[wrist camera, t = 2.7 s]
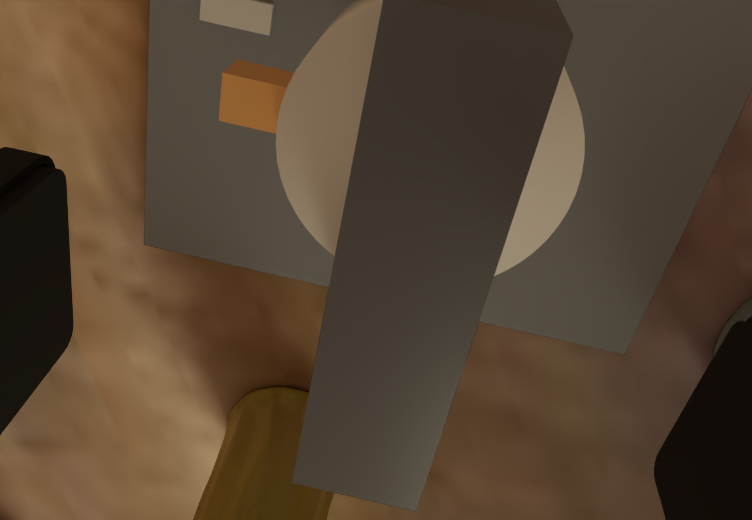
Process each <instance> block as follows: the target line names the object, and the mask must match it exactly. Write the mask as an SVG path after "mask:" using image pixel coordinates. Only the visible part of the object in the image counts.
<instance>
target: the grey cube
mask: <svg viewBox="0 0 752 520" xmlns="http://www.w3.org/2000/svg"><path fill="white" fill-rule="evenodd" d="M573 37H574V35H573V33H572V31H571V29H570V27H569V25H568V23H567V21H566V19H565V17H564V15H563V13H562V11H561V9H560V7H559V5H558V3H557V1H556V0H356V1H354V2H353V3H352V4H351V5H350V6H348V7H347V8H346V9H345V10H343V11H342V13H341V14H340V15H339V16H338V17H337V18H336V19H335V20H334V21H333V22H332V23H331V24H330V26H329V27H328V28H327V30H326V31H325V32H324V33H323V35H322V36H321V37H320V38H319V40H318V41H317V42H316V44H315V45H314V46H313V47H312V49H311V50H310V51H309V52H308V54H307V55H306V57H305V58H304V59H303V61H302V62H301V64H300V65H299V66H298V68H297V69H296V71H295V72H290V71H286V70H282V69H277V68H273V67H268V66H264V65H260V64H255V63H251V62H246V61H242V60H238V59H237V60H236V61H235V62H234V63H232V64H231V65H230V66H229V67H228V68H227V69H226V70H225V71H224V72H223V73H222V84H221V97H220V109H219V121H222V122H227V123H231V124H236V125H240V126H244V127H249V128H253V129H257V130H262V131H266V132H271V133H275V134H276V154H277V164H278V168H279V173H280V177H281V181H282V184H283V187H284V189H285V192H286V195H287V198H288V199H289V201H290V203H291V205H292V207H293V209H294V211H295V213H296V215H297V216H298V218H299V219H300V220H301V222H302V223H303V225H304V226H305V228H306V229H307V230H308V231H309V232H310V234H311V235H312V236H313V237H314V238H315V239H316V240H317V242H319V243H320V244H321V245H322V246H323V247H324V248H325V249H326V250H327V251H329V252H330V253H331V254H332V255H334V256H335V257H334V262H333V268H332V273H331V278H330V284H329V289H328V294H327V300H326V305H325V310H324V315H323V321H322V326H321V331H320V337H319V342H318V347H317V352H316V358H315V363H314V368H313V374H312V379H311V384H310V390H309V395H308V400H307V405H306V411H305V416H304V421H303V427H302V432H301V437H300V443H299V448H298V453H297V458H296V464H295V469H294V474H293V480H292V483H295V484H299V485H303V486H308V487H312V488H316V489H321V490H325V491H329V492H334V493H338V494H342V495H347V496H351V497H355V498H360V499H364V500H368V501H373V502H377V503H382V504H386V505H390V506H395V507H399V508H403V509H408V510H412V511H416V510H417V507H418V504H419V501H420V497H421V494H422V491H423V488H424V485H425V482H426V479H427V476H428V473H429V470H430V467H431V464H432V461H433V458H434V455H435V452H436V449H437V446H438V443H439V440H440V437H441V434H442V431H443V428H444V425H445V422H446V419H447V416H448V413H449V410H450V407H451V404H452V401H453V398H454V395H455V392H456V389H457V386H458V383H459V380H460V377H461V374H462V371H463V368H464V365H465V362H466V359H467V356H468V353H469V350H470V347H471V344H472V341H473V338H474V335H475V332H476V329H477V326H478V323H479V320H480V317H481V314H482V311H483V308H484V305H485V302H486V299H487V296H488V293H489V290H490V287H491V284H492V281H493V278H494V276H495V275H498V274H500V273H502V272H504V271H506V270H508V269H510V268H511V267H513V266H515V265H517V264H519V263H520V262H521V261H523V260H524V259H525V258H527V257H528V256H530V255H531V254H532V253H534V252H535V251H536V250H537V249H538V248H539V247H540V246H541V245H542V244H543V243H544V242H545V241H546V240H547V239H548V238H549V237H550V236H551V234H552V233H553V232H554V231H555V230H556V228H557V227H558V226H559V224H560V223H561V221H562V220H563V218H564V216H565V215H566V213H567V212H568V210H569V208H570V206H571V203H572V201H573V199H574V197H575V195H576V192H577V189H578V185H579V182H580V179H581V175H582V169H583V163H584V156H585V134H584V127H583V120H582V115H581V111H580V108H579V104H578V101H577V97H576V95H575V92H574V90H573V87H572V84H571V82H570V79H569V77H568V74H567V72H566V69H565V66H564V64H565V61H566V58H567V55H568V52H569V49H570V46H571V43H572V40H573Z"/></svg>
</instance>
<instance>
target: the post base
mask: <svg viewBox="0 0 752 520" xmlns="http://www.w3.org/2000/svg"><path fill="white" fill-rule="evenodd" d="M354 1H356V0H150V8H149V50H148V92H147V135H146V177H145V219H144V245H146V246H151V247H155V248H160V249H164V250H168V251H173V252H177V253H181V254H186V255H190V256H195V257H199V258H203V259H208V260H212V261H216V262H221V263H225V264H230V265H234V266H238V267H243V268H247V269H251V270H256V271H260V272H264V273H269V274H273V275H278V276H282V277H286V278H291V279H295V280H299V281H304V282H308V283H313V284H317V285H321V286H326V287H329V284H330V278H331V273H332V268H333V262H334V257H335V256H334V255H332V254H331V253H330V252H329V251H327V250H326V249H325V248H324V247H323V246H322V245H321V244H320V243H319V242H317V240H316V239H315V238H314V237H313V236H312V235H311V234H310V232H309V231H308V230H307V229H306V228H305V226H304V225H303V223H302V222H301V220H300V219H299V218H298V216H297V215H296V213H295V211H294V209H293V207H292V205H291V203H290V201H289V199H288V198H287V195H286V192H285V189H284V187H283V184H282V181H281V177H280V173H279V168H278V164H277V154H276V134H275V133H271V132H266V131H262V130H257V129H253V128H249V127H244V126H240V125H236V124H231V123H227V122H222V121H219V109H220V97H221V84H222V73H223V72H224V71H225V70H226V69H227V68H228V67H229V66H230V65H231V64H232V63H234V62H235V61H236V60H237V59H238V60H242V61H246V62H251V63H255V64H260V65H264V66H268V67H273V68H277V69H282V70H286V71H290V72H295V71H296V69H297V68H298V66H299V65H300V64H301V62H302V61H303V59H304V58H305V57H306V55H307V54H308V52H309V51H310V50H311V49H312V47H313V46H314V45H315V44H316V42H317V41H318V40H319V38H320V37H321V36H322V35H323V33H324V32H325V31H326V30H327V28H328V27H329V26H330V24H331V23H332V22H333V21H334V20H335V19H336V18H337V17H338V16H339V15H340V14H341V13H342V11H343V10H345V9H346V8H347V7H348V6H350V5H351V4H352V3H353V2H354ZM556 1H557V3H558V5H559V7H560V9H561V11H562V13H563V15H564V17H565V19H566V21H567V23H568V25H569V27H570V29H571V31H572V33H573V35H574V37H573V40H572V43H571V46H570V49H569V52H568V55H567V58H566V61H565V64H564V66H565V69H566V72H567V74H568V77H569V79H570V82H571V84H572V87H573V90H574V92H575V95H576V97H577V101H578V104H579V108H580V111H581V115H582V120H583V127H584V134H585V156H584V163H583V169H582V175H581V179H580V182H579V185H578V189H577V192H576V195H575V197H574V199H573V201H572V203H571V206H570V208H569V210H568V212H567V213H566V215H565V216H564V218H563V220H562V221H561V223H560V224H559V226H558V227H557V228H556V230H555V231H554V232H553V233H552V234H551V236H550V237H549V238H548V239H547V240H546V241H545V242H544V243H543V244H542V245H541V246H540V247H539V248H538V249H537V250H536V251H535V252H534V253H532V254H531V255H530V256H528V257H527V258H525V259H524V260H523V261H521V262H520V263H519V264H517V265H515V266H513V267H511V268H510V269H508V270H506V271H504V272H502V273H500V274H498V275H495V276H494V278H493V281H492V284H491V287H490V290H489V293H488V296H487V299H486V302H485V305H484V308H483V311H482V314H481V317H480V320H479V322H483V323H487V324H492V325H496V326H501V327H505V328H509V329H514V330H518V331H522V332H527V333H531V334H535V335H540V336H544V337H549V338H553V339H557V340H562V341H566V342H570V343H575V344H579V345H584V346H588V347H592V348H597V349H601V350H605V351H610V352H614V353H619V354H623V355H625V353H626V351H627V349H628V347H629V345H630V343H631V341H632V339H633V337H634V335H635V332H636V330H637V328H638V326H639V324H640V322H641V320H642V318H643V316H644V314H645V312H646V310H647V307H648V305H649V303H650V301H651V299H652V297H653V295H654V293H655V291H656V289H657V287H658V285H659V282H660V280H661V278H662V276H663V274H664V272H665V270H666V268H667V266H668V264H669V262H670V260H671V257H672V255H673V253H674V251H675V249H676V247H677V245H678V243H679V241H680V239H681V237H682V235H683V232H684V230H685V228H686V226H687V224H688V222H689V220H690V218H691V216H692V214H693V212H694V210H695V207H696V205H697V203H698V201H699V199H700V197H701V195H702V193H703V191H704V189H705V187H706V185H707V182H708V180H709V178H710V176H711V174H712V172H713V170H714V168H715V166H716V164H717V162H718V160H719V158H720V155H721V153H722V151H723V149H724V147H725V145H726V143H727V141H728V139H729V137H730V135H731V133H732V130H733V128H734V126H735V124H736V122H737V120H738V118H739V116H740V114H741V112H742V110H743V108H744V105H745V103H746V101H747V99H748V97H749V95H750V93H751V91H752V0H556Z"/></svg>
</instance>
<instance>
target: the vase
mask: <svg viewBox="0 0 752 520" xmlns="http://www.w3.org/2000/svg"><path fill="white" fill-rule="evenodd" d="M308 395H309V393H308V392H305V391H302V390H298V389H293V388H286V387H271V388H265V389H260V390H257V391H254V392H252V393H249V394H248V395H246V396H245V397H243V398H242V399H241V400H240V401H239V402H238V403H237V404H236V405H235V406H234V408H233V409H232V410H231V412H230V415H229V417H228V424H227V430H226V433H225V437H224V440H223V443H222V446H221V448H220V451H219V454H218V457H217V459H216V462H215V465H214V468H213V470H212V473H211V476H210V478H209V481H208V483H207V485H206V487H205V490H204V492H203V495H202V497H201V500H200V502H199V505H198V508H197V511H196V513H195V516H194V519H193V520H326V519H327V515H328V512H329V508H330V504H331V501H332V498H333V494H334V492H329V491H325V490H321V489H316V488H312V487H308V486H303V485H299V484H295V483H292V480H293V474H294V469H295V464H296V458H297V453H298V448H299V443H300V437H301V432H302V427H303V421H304V416H305V411H306V405H307V400H308Z"/></svg>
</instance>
